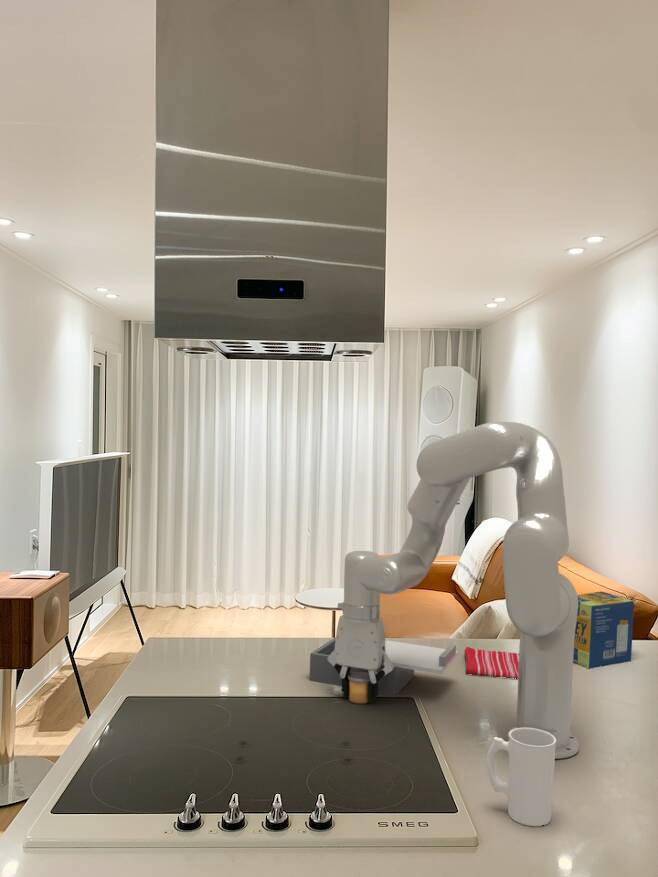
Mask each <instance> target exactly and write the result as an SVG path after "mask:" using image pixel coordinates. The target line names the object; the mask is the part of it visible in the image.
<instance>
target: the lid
mask: <svg viewBox="0 0 658 877" xmlns="http://www.w3.org/2000/svg"><path fill="white" fill-rule="evenodd" d="M385 645H386V654H387V656H388V657H389V659H390V660H391V662H392V664H393V665H394V667H400V668H406V669H412V670H414V671H418V672H419V671H420V672H426V673H433V674H438V675H442V674H443V673H444V672H445V670H446V669H447V668H448V667H449V666H450V665H451V664H452V662H453V661H454V660H456V658H457V657H458V655H459V650H457V644H452V643H450V645H449V646H448V647H447V648H441V647H440V648H439V647H433V646H428V645H426V646H425V645H421V644H413V643H407V642H402V641H401V642H400V641H393V640H386V639H385ZM382 665H384V664H382Z"/></svg>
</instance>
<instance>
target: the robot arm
mask: <svg viewBox="0 0 658 877" xmlns="http://www.w3.org/2000/svg"><path fill="white" fill-rule="evenodd" d="M509 468H512V469H514V470H515V473H516V484H515V485H516V486H515V497H516V504H517V520H516V521H514V522H513V523H512V524H511V525H510V526H508V528H507V529H506V532H505V534H504V536H503V540H502V546H501V547H502V548H501V554H502V555H501V556H502V568H503V583H504V584H503V586H504V597H505V607H506V612H507V615H508V618H509V619H510V622H511V623H512V624H513V626H514V627H515V628H516V629H517V630H518V631H520V638H519V648H518V649H519V650H518V653H519V670H518V680H517V701H516V705H517V706H516V726H514V727H511V728H510V729H509V730H508V732H507V737H506V739H507V740H506V741H507V742H508V741H509V732H510V731H511V730H513V729H516V728H535V729H540V730H543V731H546V732H548V733H550V734H552V735H553V736H554V737H555V738H556V743H555V759H557V760H558V759H559V760H560V759H566V758H567V759H568V758H570V757H573V756H574V755H576V754H577V753H578V752H579V750H580V744H579V741H578V739H577V738H576V737H575V736H574V735H572V733H571V723H572V701H573V700H572V696H573V695H572V694H573V670H574V669H573V668H574V663H573V655H574V638H575V629H576V621H577V613H578V597H577V590H576V588H575V586H574V584H573V583H572V582H571V580H570V579H569V577H566V576H565V575H564V574H562V573H560V570H559V562H560V561H561V560H562V559H563V558H564V557H565V555H566V554H567V552H568V549H569V545H570V541H569V540H570V539H569V537H570V536H569V529H568V520H567V508H566V498H565V488H564V478H563V477H564V476H563V468H562V462H561V458H560V455H559V453H558V450H557V448H556V446H555V445H554V443H553V442H552V441H551V439H550V438H549V437H548V436H547V435H546V434H544V433H543V432H541V431H540V430H538V429H536V428H534V427H532V426H530V425H527V424H525V423H521V422H520V423H519V422H517V421H516V422H514V421H492V422H491V421H490V422H486V423H482V424H479V425H478V426H474V427H472V428H468V429H466V430H463V431H461V432H458V433H455V434H452V435H450V436H447V437H445V438H442V439H438V440H435V441H432V442H431V443H428V444H427V445H425V446H424V448H422V449H421V451H420V452H419V453H418V456H417V459H416V472H417V475H418V477H419V478H420V479H419V481H418V483H417V486H416V488H415V489H414V490H413V493H412V495H411V497H410V498H409V500H408V503H407V511H408V513H409V515H410V516H411V526H410V529H409V530H410V531H409V534H408V535H407V537H406V539H405V541H404V543H403V545H402V547H401V549H400V550H399V552H397V553H394V554H391V555H388V556H383V557H381V556H380V555H379V554H378V553H377V552H374V551H369V550H353V551H350V552H348V553H347V554H346V555H345V558H344V572H343V573H344V576H343V577H344V578H343V579H344V580H343V582H344V583H343V584H344V585H343V601H342V602H338V603H337V609H338V610H341V611H342V615H340V616H339V618H338V622H337V627H336V628H337V629H336V635H335V638H336V640H335V649H334V651H333V652H332V653H331V654H330V655H329V657H328V658H327V660H328V661H329V662H330V663H331V664H332V665H333V666H334V668H335V669H336V670H337V672H338V673H339V674H340V677H341V678H342V686H341V693H342V698H345V699H347V698H349V679H348V674H349V673H350V670H351V667H352V668H358V669H365V670H368V671H369V676H370V682H369V683H368V702H367V703H373V701H375V700H376V698H378V696H379V693H378V680H380V679H381V678H382V677H383V676H384V675H386V674H387V673H389V672H391V671H392V670H393V669H394V665H393V664H392V662H391V660H390V659H389V657H388V656H387V654H386V645H385V640H386V633H385V627H384V621H383V618H381V617H380V613H381V612H380V611H381V610H380V609H381V594H383V595H387V596H389V595H390V596H393V595H397V594H399V593H401V592H404V591H406V590H408V589H410V588H413V587H416V586H417V585H419V584H420V583H421V582H422V581H423V580H424V578H426V576H427V574H428V573H429V571H430V569H431V567H432V566H433V563H434V561H435V560H436V558H437V556H438V554H439V552H440V549H441V546H442V544H443V540H444V536H445V532H446V526H447V523H448V522H449V519H450V517H451V515H452V514H453V512H454V510H455V507H456V506H457V504H458V502H459V501H460V499H461V496H462V495H463V493H464V491H465V489H466V487H467V486H468V484H469V482H470V479H472V478H475V477H477V476H480V475H483V474H487V473H490V472H493V471H496V470H500V469H509ZM382 664H384V666H385V668H383V669H382V670H381V671H379V667H380V666H381V665H382Z"/></svg>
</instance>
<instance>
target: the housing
mask: <svg viewBox="0 0 658 877" xmlns="http://www.w3.org/2000/svg"><path fill="white" fill-rule="evenodd" d="M335 640H336V637H333V638H332V639H330V640H329V641H327V642H326V643H324V644H323V645H321V646H320V647H318V648H317V649H315V650H314V651H312V652H310V654H309V656H310V657H309V658H310V659H309V681H312V682H317V683H322V684H329V685H334V686H335V685H336V686H340V687H342V678H341V677H340V674H339V673H338V672H337V670H336V669H335V668H334V666H333V665H332V664H331V663H330V662H329V661H328V660H327V658H328V657H329V655H330V654H331V653H332V652H333V651H334V649H335ZM383 668H385V666H384V665H381V666H380V667H379V671H381V670H382V669H383ZM352 672H366V673H369V671H368V670H365V669H358V668H352V667H351V670H350V673H352ZM414 676H415V670H412V669H406V668H400V667H394V669H393V670H392V671H391V672H389V673H387V674H386V675H384V676H383V677H382V678H381V679H380V680H378V694H384V695H388V696H389V695H390V696H391V695H392V696H396V695H397V694H398V693H399V692H400V691H401V690H402V689H403V688H404V686H406V685H407V684H408V683H409V681H410V680H412V678H413V677H414Z"/></svg>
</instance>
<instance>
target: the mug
mask: <svg viewBox="0 0 658 877" xmlns="http://www.w3.org/2000/svg"><path fill="white" fill-rule="evenodd" d="M555 743H556V738H555V737H554V736H553V735H552V734H550V733H548V732H546V731H543V730H540V729H535V728H516V729H513V730H511V731H510V732H509V741H508V740H507V741H505V740H504V738H501V737H498V736H494V738H493V742H492V743H491V745H490V747H489V748H488V751H487V754H486V758H485V759H486V760H485V764H486V770H487V774H488V777H489V780H490V783H491V786H492V789H493V791H494V792H497V793H498V792H499V793H502V794H504V795H506V797H507V798H508V799H507V800H508V801H507V802H508V804H507V810H508V811H507V813H508V815H509V817H510V818H511V819H512V821H515V822H516V823H518V824H520V825H524V826H528V827H543V826H542V825H544V826H547V825H548V824H549V823H550V822H551V820H552V812H553V809H552V808H553V797H554V794H553V793H554V776H555V761H556V760H555ZM501 750H504V751H506V752H507V753H508V781H503V780H500V778H499V777H498V776H497V774H496V770H495V767H494V758H495V755H496V753H498V751H501Z"/></svg>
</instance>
